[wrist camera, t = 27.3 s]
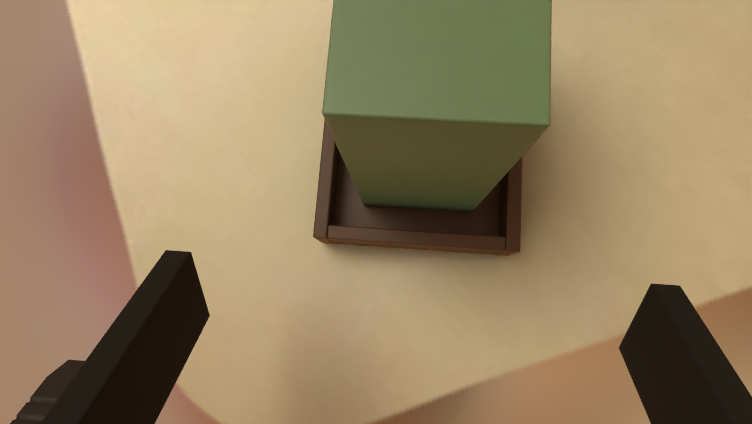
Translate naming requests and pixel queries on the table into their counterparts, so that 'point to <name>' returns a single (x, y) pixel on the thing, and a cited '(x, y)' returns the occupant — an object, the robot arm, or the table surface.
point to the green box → (436, 95)
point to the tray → (414, 215)
